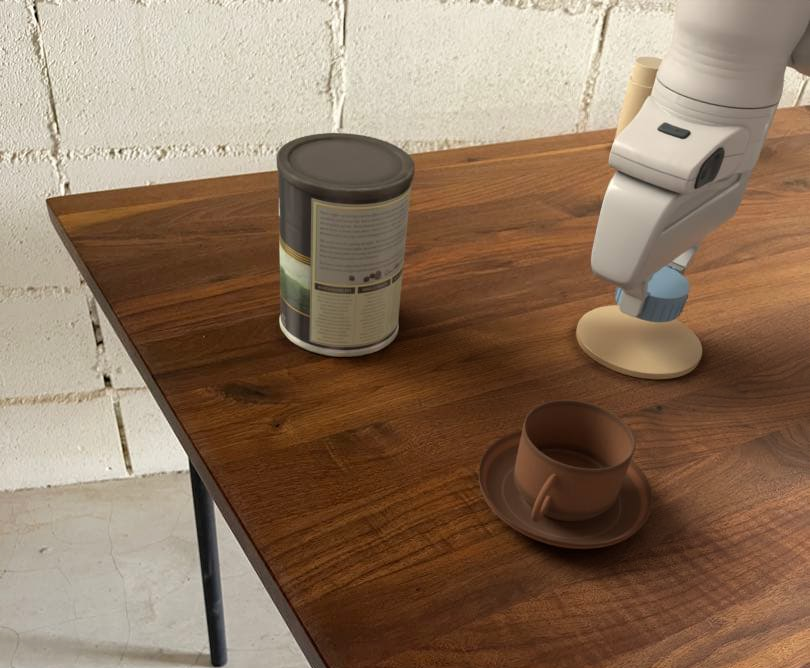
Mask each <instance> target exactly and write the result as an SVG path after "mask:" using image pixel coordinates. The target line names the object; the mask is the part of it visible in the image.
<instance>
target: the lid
mask: <svg viewBox="0 0 810 668" xmlns="http://www.w3.org/2000/svg"><path fill="white" fill-rule="evenodd" d="M690 289H691V285H690V282H689V281H688V279H687V278H686V277H684V276H683V275H681V274H680V273H679V272H677V271H675V270H673V269H671V268H669V267H667V266H665V267H663V268H662V269H661V270H659V271H658V272H657V273H655V274H654V275H653V278H652V280H650V281H649V283H648V290H647V292H649V293H651V294H650V298H649V301H648V303H647V307H646V309H645V310H644V311H642V312H641V313H640V314H639V315H638V316H636V318H639V319H641V320H645V321H650V322H669V321H672V320H674V319H676V320H677V319H678V318H679V317H681V314H682V313H683V311H684V308H685V306H686V303H687V300H688V299H689V293H690ZM614 293H615V294H614V299H615V302H616V305H619V304H620V301H621V297H622V294H623V289H621V288H619V287H616V289H615V291H614Z"/></svg>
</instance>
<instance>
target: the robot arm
mask: <svg viewBox="0 0 810 668" xmlns="http://www.w3.org/2000/svg"><path fill="white" fill-rule="evenodd" d="M674 5H675V6H674V23H673V25H674V26H673V33H672V37H671V41H670V44H669V45H668V46H669V47H668V49H667V52H666V53H665V55H664V56H663V58H662V59H663V60H662V62H661V64H660V66H659V68H658V71H657V75H656V79H655V82H654V86H653V89H652V93H651V96H649V97H648V98H647V99H646V101H645V102H644V104H643V106H642V108H641V110H640V111H639V113H638V114H637V115H636V116H635V118H634V119H633V120H632V121H631V122H630V123H629V125H628V126H627V127H626V128H625V129H624V130H623V131H622V132H621V133H620V134H619V135H618V136H617V138H616V139H615V141H614V140H613V142H614V143H612V145H611V148H610V152H609V156H608V157H609V158H608V166H609V167H610V168H612V169H614V170H616V172H615V173H614V175H613V176H612V177H611V179H610V181H609V183H608V186H607V188H606V190H605V193H604V196H603V200H602V204H601V208H600V213H599V216H598V219H597V220H598V221H597V224H596V229H595V234H594V239H593V244H592V250H591V255H590V265H591V270H592V273H593V276H594V277H595V278H596V279H599V280H601V281H603V282H605V283H607V284H610V285H611V286H613V287H616V288H617V287H619V288H621V289H623V294H622V297H621V301H620V304H619V309H620V311H621V312H623V313H625V314H627V315H629V316H631V317H636V316H638V315H639V314H640V313H641V312H642V311H644V310H645V309H646V307H647V303H648V301H649V298H650V294H651V293H649V292H647V290H648V283H649V281H650V280H652V278H653V275H654V274H655V273H657V272H658V271H659V270H661V269H662V268H663V267H665V266H667V267H669V268H671V269H673V270H675V271H677V272H679V273H680V274H681V275H683V276H684V277H685V276H686V274H687V271H688V267H689V266H690V264H691V263H692V261H693V259H694V258H695V256H696V254H697V253H698V251H699V249H700V248H701V246H702V244H703V242H704V239H706V237H708V236H709V235H711V234H712V233H714V232H715V231H717V230H718V229H719V228H720V227H722V226H723V225H724V224H726V223H728V222H729V221H730V220H731V219H733V217H734V216H735V214H736V213H737V211H738V210H739V208H740V205H741V203H742V201H743V199H744V196H745V193H746V190H747V187H748V183H749V180H750V177H751V174H752V171H753V169H754V168H755V167H757V164H758V161H759V159H760V156H761V153H762V151H763V147H764V144H765V142H766V139H767V137H768V134H769V133H770V129H771V127H772V123H773V121H774V118H775V116H776V113H777V110H778V106H779V105H780V101H781V99H782V95H783V93H784V92H783V91H784V85H785V74H786V69H787V67H788V68H791V69H793V70H795V71H796V72H797V73H799V74H801V75H804V76H806V77H809V78H810V0H676V2H675V4H674ZM685 278H686V277H685Z"/></svg>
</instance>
